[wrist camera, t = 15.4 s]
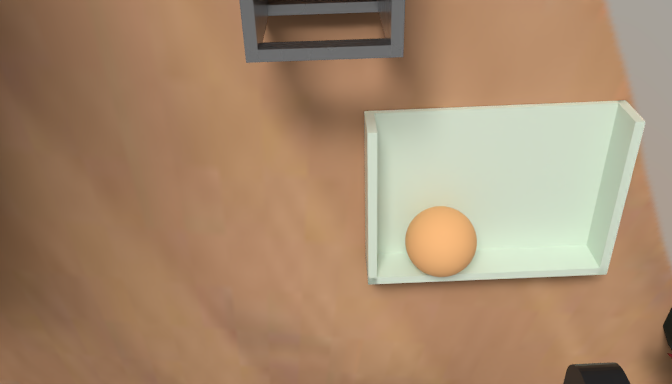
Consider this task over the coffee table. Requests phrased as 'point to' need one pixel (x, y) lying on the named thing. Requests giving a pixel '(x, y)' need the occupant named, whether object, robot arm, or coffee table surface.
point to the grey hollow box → (262, 3)
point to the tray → (501, 185)
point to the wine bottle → (668, 330)
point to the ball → (441, 241)
